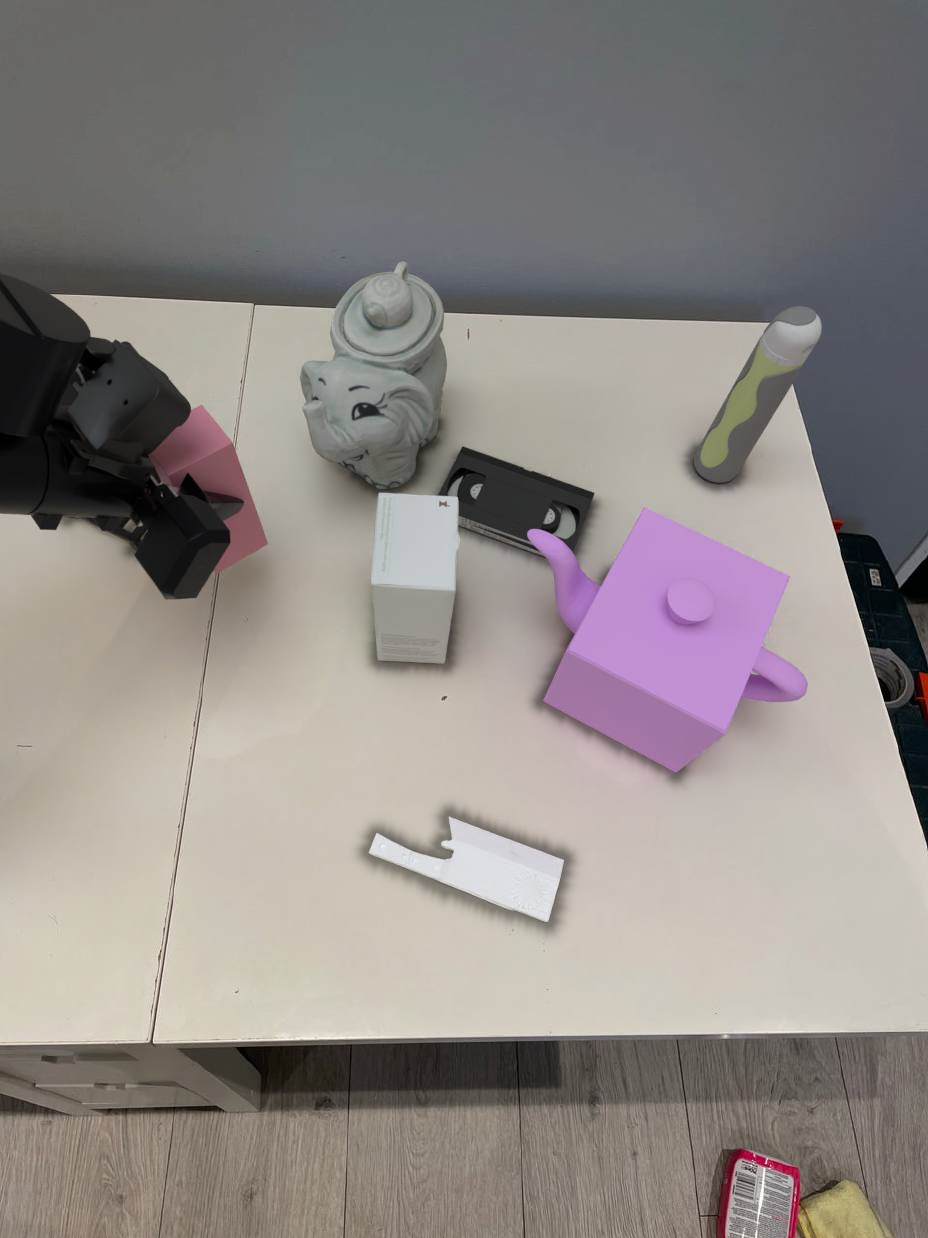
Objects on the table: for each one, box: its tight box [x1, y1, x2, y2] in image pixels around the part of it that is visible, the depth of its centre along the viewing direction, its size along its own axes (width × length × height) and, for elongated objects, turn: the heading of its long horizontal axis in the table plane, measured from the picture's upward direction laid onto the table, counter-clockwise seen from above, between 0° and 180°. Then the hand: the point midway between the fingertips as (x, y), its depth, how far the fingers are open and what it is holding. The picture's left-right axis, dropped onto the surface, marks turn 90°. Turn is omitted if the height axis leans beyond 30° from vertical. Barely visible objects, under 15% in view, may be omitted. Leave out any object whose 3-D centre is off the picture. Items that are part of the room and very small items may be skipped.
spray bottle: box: [693, 305, 823, 484], centre depth 69 cm, size 5×5×20 cm
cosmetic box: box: [370, 492, 461, 665], centre depth 61 cm, size 8×7×16 cm
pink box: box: [148, 404, 269, 575], centre depth 57 cm, size 5×4×13 cm
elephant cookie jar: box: [299, 260, 448, 490], centre depth 68 cm, size 16×15×19 cm
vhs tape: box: [437, 445, 595, 559], centre depth 73 cm, size 14×8×2 cm, turn 68°
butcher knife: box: [368, 816, 565, 923], centre depth 59 cm, size 5×15×1 cm, turn 70°
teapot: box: [527, 506, 809, 774], centre depth 62 cm, size 15×25×14 cm, turn 61°
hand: (225, 486), depth 58 cm, fingers closed on pink box, 4 cm apart
